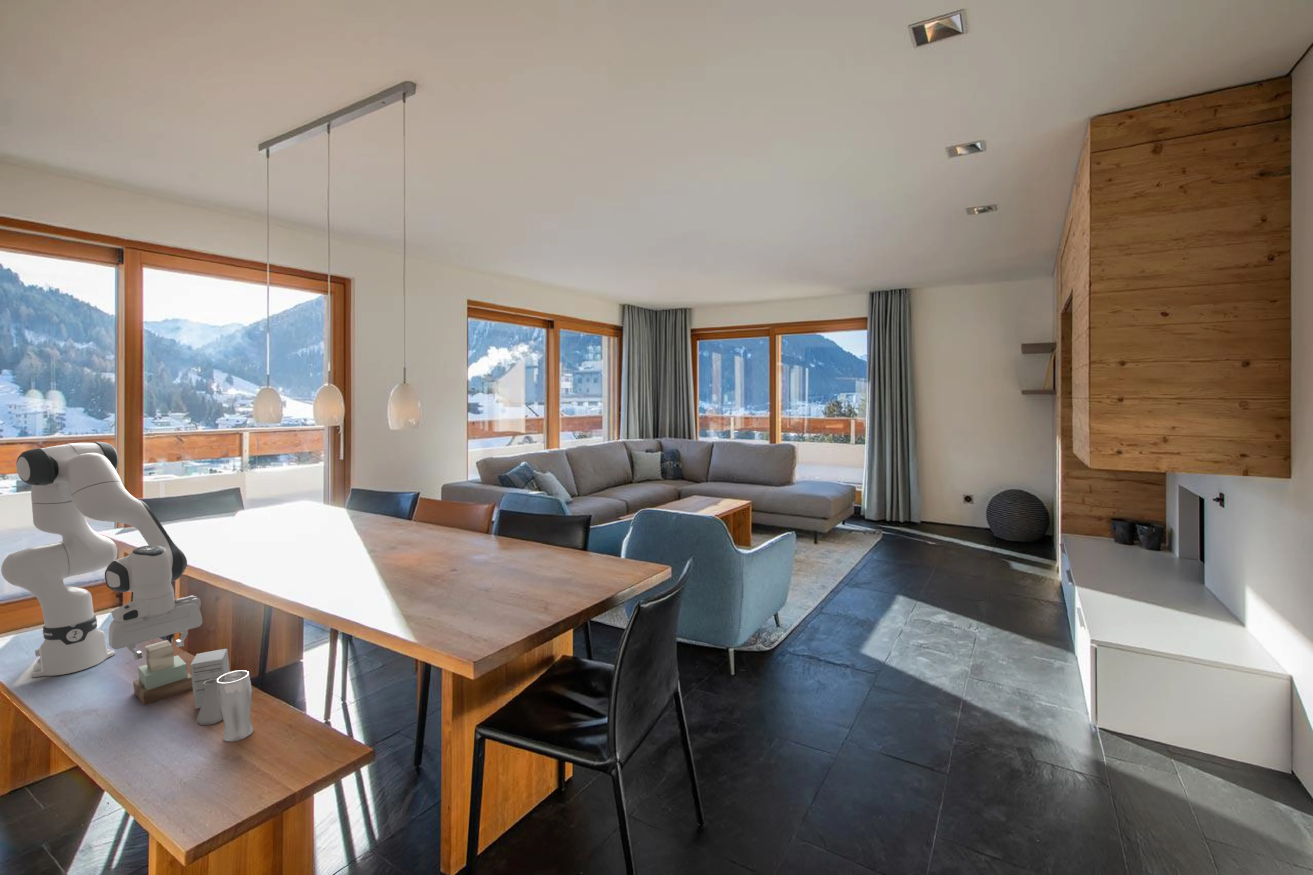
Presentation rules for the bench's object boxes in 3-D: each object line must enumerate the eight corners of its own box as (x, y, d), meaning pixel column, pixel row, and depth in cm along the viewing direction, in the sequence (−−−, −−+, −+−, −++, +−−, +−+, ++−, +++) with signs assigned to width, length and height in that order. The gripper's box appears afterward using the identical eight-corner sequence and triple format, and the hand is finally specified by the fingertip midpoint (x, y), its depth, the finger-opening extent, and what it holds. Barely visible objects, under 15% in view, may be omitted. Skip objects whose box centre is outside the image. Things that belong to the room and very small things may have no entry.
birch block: (147, 666, 171) (145, 646, 171) (169, 659, 175) (167, 639, 175) (151, 671, 168) (149, 651, 168) (174, 664, 172) (172, 644, 171)
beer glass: (247, 741, 147) (241, 682, 146) (215, 744, 146) (209, 685, 145) (260, 725, 154) (255, 668, 153) (230, 728, 153) (224, 671, 152)
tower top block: (139, 680, 172) (138, 666, 171) (179, 668, 179) (177, 655, 178) (147, 690, 166) (145, 676, 166) (187, 677, 173) (186, 663, 173)
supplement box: (200, 697, 169) (196, 653, 168) (232, 690, 172) (228, 647, 171) (193, 709, 162) (189, 664, 161) (227, 703, 165) (222, 658, 164)
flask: (213, 727, 154) (209, 689, 153) (189, 724, 155) (185, 687, 154) (238, 711, 161) (234, 675, 160) (215, 709, 162) (211, 673, 161)
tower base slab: (134, 694, 172) (133, 681, 172) (182, 679, 181) (181, 666, 180) (145, 707, 165) (143, 692, 165) (194, 690, 174) (192, 676, 173)
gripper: (196, 591, 180) (200, 636, 181) (104, 613, 164) (109, 662, 165) (203, 595, 176) (207, 642, 177) (109, 618, 160) (115, 669, 161)
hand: (159, 652), depth 171 cm, fingers open, 8 cm apart
